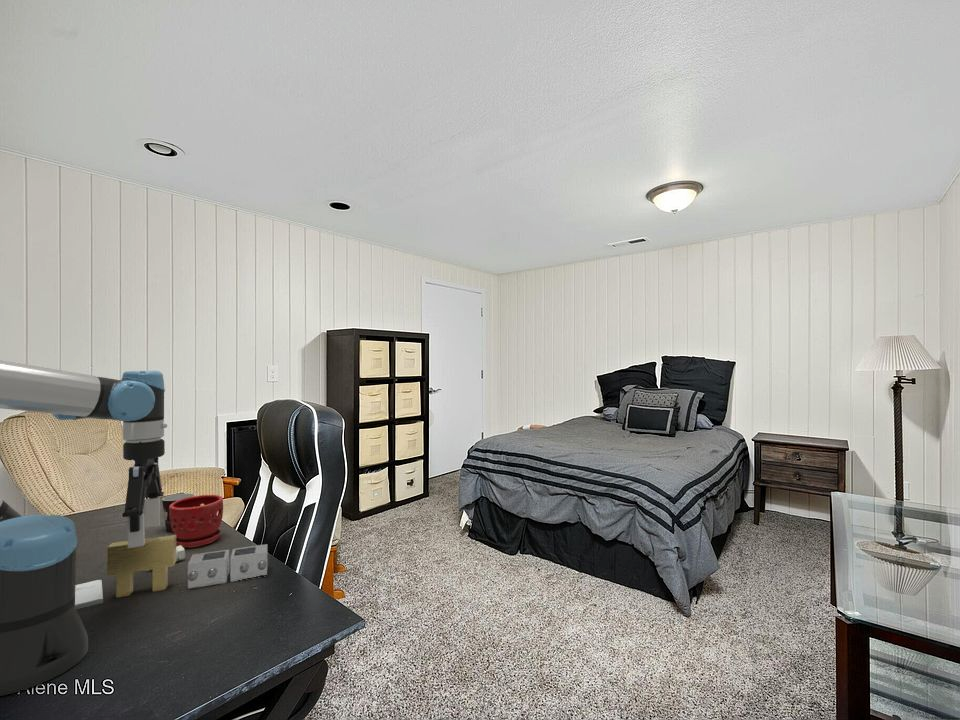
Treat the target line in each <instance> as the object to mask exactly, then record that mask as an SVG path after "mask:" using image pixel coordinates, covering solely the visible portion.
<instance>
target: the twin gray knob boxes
mask: <svg viewBox="0 0 960 720" xmlns="http://www.w3.org/2000/svg"><path fill="white" fill-rule="evenodd" d="M229 575H230V583H233V582H238V580H240V581H243V580H242V579H246V580H248V579H247V578H252V577H256V576H260V575H267V576H268V544H267V543H266V544H257V545H252V546H245V547H238V548H232V551H231V554H230V549H223V550H215V551H209V552H208V551H207V552H202V553H193V554H192V555H191V557H190V559H189V561H188V563H187V589H188V590H190V589H196V588H197V589H198V588H202V587H209V586H215V585H220V584H227V583H228V578H229ZM252 579H253V578H252Z"/></svg>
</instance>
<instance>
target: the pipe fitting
mask: <svg viewBox="0 0 960 720" xmlns="http://www.w3.org/2000/svg"><path fill="white" fill-rule="evenodd" d="M185 558H186V550H185V547H182V546H181V545H180V546H177V545H176V563H178V562H180V561H183V560H184V559H185ZM145 571H147V572H151V571H153V569H151V570H145Z"/></svg>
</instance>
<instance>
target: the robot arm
mask: <svg viewBox="0 0 960 720" xmlns="http://www.w3.org/2000/svg"><path fill="white" fill-rule="evenodd" d="M121 376H122V377H121V379H115V378H109V377H103V376H96V375H91V374H87V373H86V374H84V373H80V372H73V371H67V370H61V369H57V368H56V369H55V368H49V367H44V366H37V365H31V364H26V363H25V364H24V363H19V362H13V361H6V360H1V359H0V409H2V410H3V409H4V410H13V411H22V412H23V411H24V412H34V413H41V414H42V413H43V414H44V413H45V414H52V416H53V417H54V418H55V419H56V420H60V421H68V420H69V421H70V420H73V421H76V420H81V419H93V420H94V419H95V420H96V419H97V420H110V421H111V420H113V421H120V422H122V440H123V441H124V442H123V444H122V456H123V460H125V461H133V462H134V463H133V466H130V467H129V468H128V481H127V482H128V483H127V489H126V490H127V491H126V495H125V496H126V498H125V504H124V511H123V512H122V518H127V541H128V548H131V547H138V546H144V545H145V539H146V537H145V529H147V528H154V527H160V526H161V503H160V500H161V498H163V497H165V496H164V494H165V493H164V491H163V488H162V480H161V475H160V466H159V458H160V457H163V456H164V455H165V453H166V451H165V443H166V442H165V441H166V440H164V439H163V437H165V429H166V428H168V424H167V423H165V420H164V419H165V391H166V390H165V389H166V388H165V379H164V375H163V373H162V372H161V371H160V370H129V371H127V370H126V371H124V372H123V373H122V375H121ZM160 497H161V498H160ZM144 506H145V508H144ZM144 509H145V510H144ZM144 512H145V513H144ZM77 545H78V536H77V532H76V525H75V522H74V521H73V520H72V519H71V518H69V517H67V516H65V515H64V516H63V515H59V514H49V515H47V514H44V513H43V514H31V515H24V516H22V515H21V514H20V513H19V512H17V510H15V509H14V508H13V507H12V506H11V505H10V504H8V503H7V502H5V500H3V499H2V498H1V497H0V697H3V696H7V695H9V694H10V695H11V694H15V693H18V692H21V691H25V690H27V689H30V688H34V687H35V686H38V685H41V684H43V683H46V682H48V681H50V680H52V679H54V678H56V677H58V676H60V675H62V674H64V673H65V672H67V671H69V670H71V669H72V668H73V667H75V666H76V665H77V664H78V663H79V662H81V661H82V659H84V657H86V655H87V653H88V650H89V636H88V632H87V630H86V629H85V626H84V624H83V621H82V619H81V617H80V615H79V613H78V609H77V610H76V608H75V585H76V578H77V575H76V574H77V569H76V568H77Z"/></svg>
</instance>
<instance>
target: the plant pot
mask: <svg viewBox="0 0 960 720" xmlns="http://www.w3.org/2000/svg"><path fill="white" fill-rule="evenodd" d="M193 506H194V507H193ZM223 515H224V500H223V496H221V495H219V494H201V495H195V496H193V497H188V498H184V499H181V500H178V501H175V502H174V503H172V504H171V505H170V506H169V516H170V522H171V527H172V530H173V532H174V533H173V535H176V547H177V546H180V545H181V546H182V547H183V548H184V549H185V548H189V549H190V548H197V547H202V546H205V545H206V544H207V545H210V544H211V543H214V542H215V541H216V540H218V539H219V538H220V536H221V535H222V530H221V529H220V526H221V524H222V520H223Z"/></svg>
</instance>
